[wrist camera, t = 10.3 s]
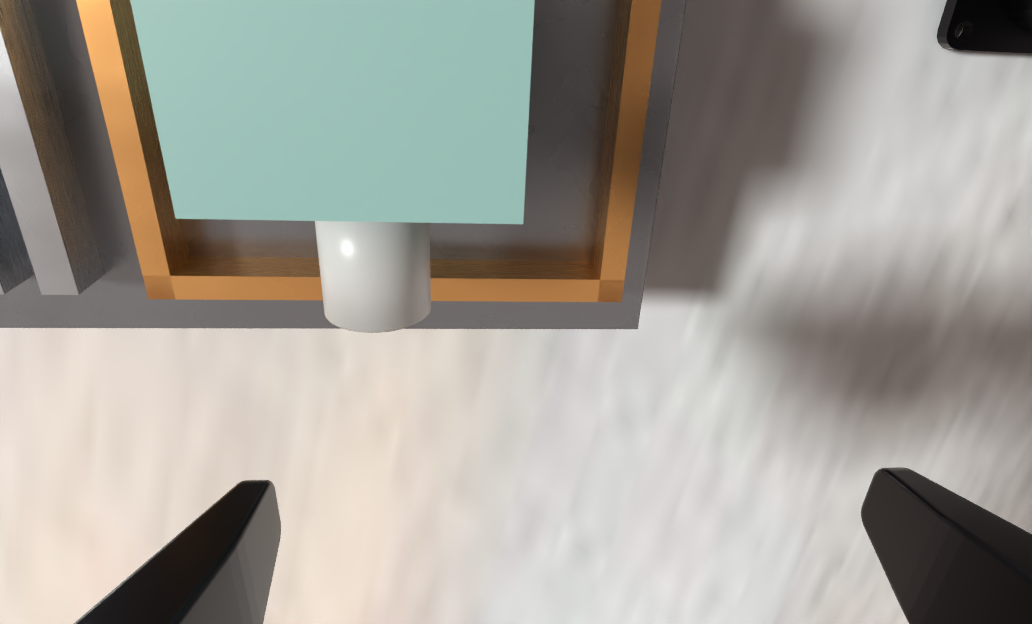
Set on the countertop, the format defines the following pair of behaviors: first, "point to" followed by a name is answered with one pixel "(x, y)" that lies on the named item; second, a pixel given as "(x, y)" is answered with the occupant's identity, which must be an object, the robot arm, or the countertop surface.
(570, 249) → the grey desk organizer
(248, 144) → the mint green box
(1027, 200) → the countertop surface
